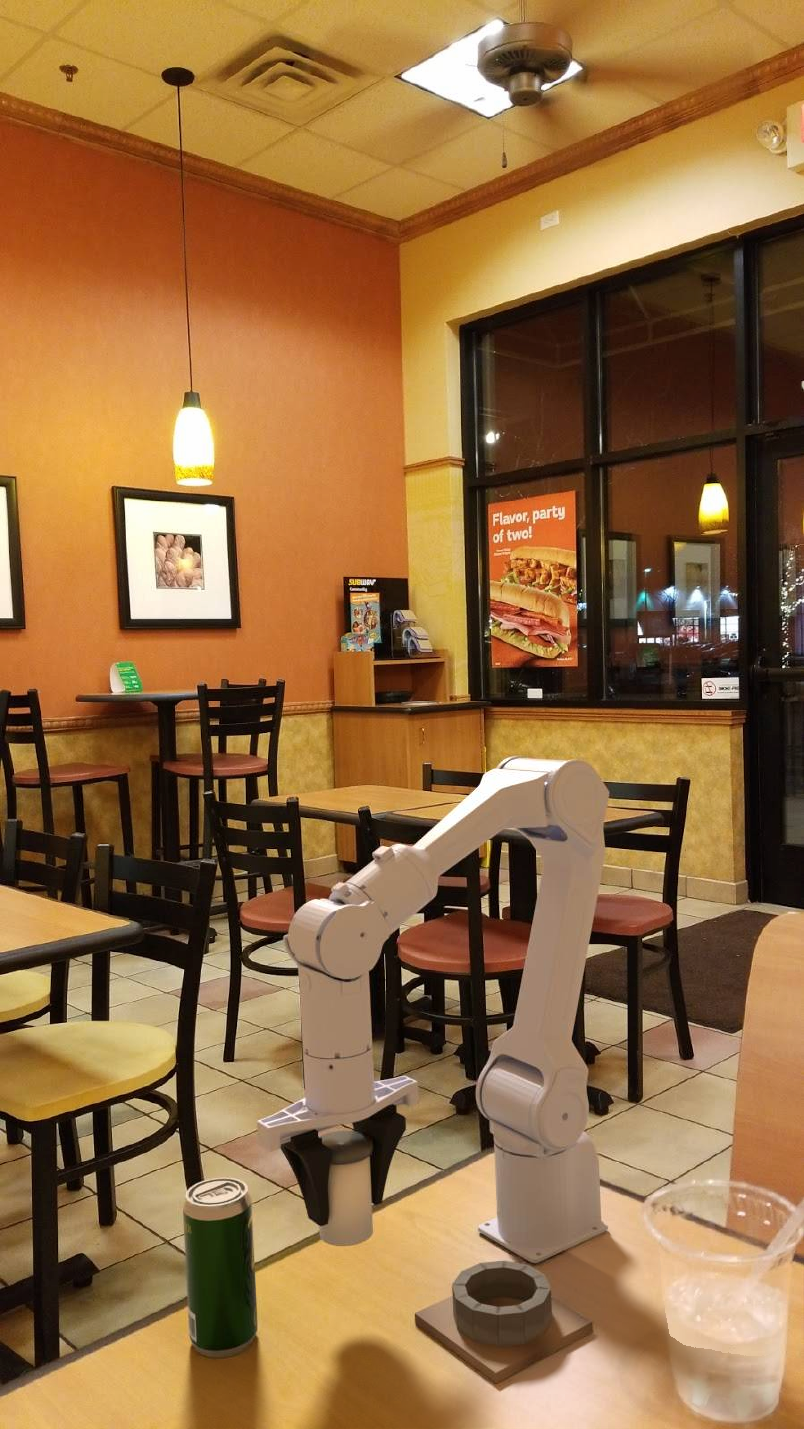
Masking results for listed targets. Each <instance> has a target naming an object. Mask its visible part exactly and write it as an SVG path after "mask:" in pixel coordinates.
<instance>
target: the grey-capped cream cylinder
mask: <svg viewBox="0 0 804 1429" xmlns="http://www.w3.org/2000/svg"><path fill="white" fill-rule="evenodd" d="M318 1137H319V1138H322V1144H324V1145H325V1146H327V1147H329V1148H331V1149H332V1150H333V1154H332V1159H331V1164H330V1170H329V1180H328V1197H329V1220H328V1224H326V1225H324V1226H319V1225H318V1226H319V1227H318V1228H319V1238H320V1239H321V1241H323V1242H324V1243H326V1244H328V1245H331V1246H335V1247H350V1246H351V1247H352V1246H356V1245H360V1244H362V1243H364V1242H366V1241H368V1240H369V1239H370V1238H371V1237H372V1235H373V1234H374V1224H373V1223H374V1222H373V1221H374V1220H373V1203H372V1197H371V1174H370V1155H371V1154H372V1152H373V1140H372V1138H371V1137H370V1136H369V1135H367V1134H365V1133H362V1132H358V1131H354V1130H336V1131H331V1132H327V1133H323V1134H322V1135H320V1136H318Z"/></svg>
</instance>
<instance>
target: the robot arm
mask: <svg viewBox="0 0 804 1429" xmlns="http://www.w3.org/2000/svg"><path fill="white" fill-rule="evenodd" d="M609 797H610V791H609V789H608V788H607V786H606V785H605V783H604V781H603V780H602V778H601V776H600V774H599V773H598V772H597V770H596V768H595V767H593V765H592V764H590V763H589V762H587V761H585V760H582V759H574V758H573V759H569V760H567V759H566V760H562V759H561V760H560V759H548V758H547V759H546V758H545V759H544V758H531V757H530V758H528V757H526V756H525V757H524V756H518V755H514V756H509V757H507V758H505V759H504V760H502V761H501V762H499V764H497V766H496V768H493V769H491V770H489V771H487V772H484V774H483V775H482V778H481V780H480V783H479V785H478V786H477V787H476V788H475V789H474V790H473V791H472V792H471V793H470V794H469V795H467V797H465V798H464V799H463V800H462V801H461V802H460V803H458V805H457V806H456V807H454V808H453V809H452V810H451V811H450V812H449V813H448V814H446V815H445V816H444V818H442V819H441V820H440V821H439V822H438V823H437V824H435V826H434V827H432V828H431V829H430V830H429V831H428V832H427V833H426V834H425V835H423V837H421V839H419V840H418V841H417V842H416V843H414V844H413V845H412V846H410V845H407V844H402V843H395V844H393V845H391V846H383V845H381V846H379V847H378V848H377V849H376V850H375V851H373V852H372V858H373V860H372V861H371V862H369V863H368V864H367V865H366V866H364V867H363V868H362V869H361V870H359V871H358V872H357V873H356V874H354V875H353V876H352V877H351V878H349V879H348V880H347V881H345V882H338V883H336V884H335V885H333V887H331V889H330V890H331V893H330V895H329V897H328V898H320V899H317V898H316V899H312V900H310V901H307V902H306V903H304V904H302V906H300V907H299V908H298V910H297V911H296V912H294V915H293V917H292V920H291V921H290V924H289V927H288V933H287V934H285V935H284V936H283V937H282V938H283V945H284V948H285V951H286V953H287V955H288V956H289V957H290V959H292V961H293V962H294V963H295V964H296V967H297V970H298V972H297V973H298V982H299V1000H300V1001H299V1002H300V1018H301V1038H302V1040H301V1041H302V1059H303V1061H302V1062H303V1075H304V1076H303V1077H304V1078H303V1080H304V1096H305V1097H304V1098H301V1099H300V1100H298V1101H296V1102H294V1103H292V1104H291V1105H288V1106H287V1107H285V1108H283V1109H281V1110H279V1111H277V1112H276V1113H273V1114H271V1115H269V1116H266V1117H265V1118H262V1119H259V1120H257V1121H256V1132H257V1145H258V1146H260V1147H262V1148H263V1149H265V1150H266V1151H268V1152H270V1153H271V1152H275V1151H277V1150H281V1152H282V1154H283V1156H284V1157H285V1158H286V1160H287V1162H288V1164H289V1167H290V1168H291V1171H292V1172H293V1174H294V1176H295V1179H296V1182H297V1185H298V1186H299V1189H300V1192H301V1195H302V1199H303V1202H304V1206H305V1209H306V1213H307V1217H308V1219H309V1220H310V1221H312V1222H313V1223H314V1224H317V1226H324V1225H326V1224H328V1220H329V1197H328V1180H329V1170H330V1164H331V1159H332V1154H333V1150H332V1149H331V1148H329V1147H327V1146H325V1145H324V1144H322V1138H319V1137H320V1136H319V1133H320V1132H322V1131H326V1130H330V1129H333V1128H336V1127H339V1126H343V1125H346V1124H347V1125H348V1124H351V1125H352V1128H353V1131H358V1132H362V1133H365V1134H367V1135H369V1136H370V1137H371V1138H372V1140H373V1152H372V1154H371V1155H370V1174H371V1197H372V1205H374V1206H378V1205H381V1204H382V1203H383V1200H384V1194H385V1189H386V1188H385V1187H386V1183H387V1178H388V1176H389V1171H390V1166H391V1164H392V1163H391V1162H392V1160H393V1157H394V1154H395V1152H396V1149H397V1147H398V1145H399V1143H400V1140H401V1139H402V1137H403V1136H404V1134H405V1131H406V1130H407V1119H406V1117H405V1115H403V1114H401V1113H399V1112H397V1111H398V1110H397V1109H398V1108H397V1107H400V1106H403V1105H405V1106H408V1107H411V1106H414V1105H418V1104H419V1101H420V1100H419V1099H420V1098H419V1082H418V1080H416V1079H413V1078H412V1077H408V1076H407V1075H401V1076H397V1077H394V1078H389V1079H384V1080H377V1081H375V1074H374V1070H375V1068H374V1053H373V1050H374V1048H373V1038H372V1037H373V1033H372V1015H371V1014H372V1013H371V990H370V974H369V973H370V971H371V970H373V969H374V967H375V966H376V964H377V963H378V961H379V959H380V956H381V953H382V949H383V945H384V944H385V942H386V941H387V940H388V939H389V938H390V936H391V935H392V934H393V933H394V932H395V931H396V930H398V929H399V928H400V927H401V926H402V925H404V924H405V923H406V922H408V920H410V919H411V918H412V917H413V916H414V915H415V914H417V913H418V912H419V911H420V910H421V909H423V908H424V907H426V905H428V903H430V902H431V901H433V899H434V898H435V897H436V896H437V893H438V887H439V886H438V885H439V877H440V876H441V875H443V874H444V873H445V872H447V871H448V870H450V869H451V868H453V866H455V865H457V864H458V863H459V862H460V861H462V860H463V859H465V858H466V857H467V856H469V855H470V854H471V853H473V852H474V851H475V850H477V849H479V847H481V846H482V845H484V844H485V843H487V842H488V841H490V840H491V839H492V838H494V837H495V836H496V835H498V834H499V833H501V832H502V831H503V830H505V829H515V830H516V831H518V832H519V833H520V834H521V835H522V836H524V837H525V838H526V839H527V840H529V842H530V843H531V844H532V846H533V848H534V849H535V850H536V852H537V854H538V855H539V856H540V858H541V859H542V862H543V865H542V871H541V877H540V881H539V887H538V891H537V898H536V901H535V902H536V903H535V909H534V914H533V919H532V925H531V930H530V935H529V940H528V946H527V951H526V956H525V961H524V966H523V971H522V977H521V983H520V988H519V994H518V998H517V1004H516V1009H515V1015H514V1019H513V1025H512V1027H511V1028H509V1029H508V1030H507V1031H506V1032H504V1033H503V1034H501V1035H500V1036H498V1037H497V1038H496V1039H494V1041H493V1042H492V1046H491V1051H490V1055H489V1058H488V1060H487V1062H486V1064H485V1065H484V1067H483V1069H482V1071H480V1074H479V1075H478V1076H479V1077H478V1079H477V1082H476V1085H475V1086H476V1087H475V1101H476V1105H477V1107H478V1108H477V1109H478V1110H479V1112H480V1113H481V1115H483V1116H484V1118H486V1119H487V1120H489V1132H490V1133H491V1134H493V1148H494V1171H495V1172H494V1173H495V1196H496V1197H495V1198H496V1199H495V1200H496V1217H494V1218H492V1219H490V1220H487V1221H485V1222H483V1223H480V1224H479V1225H477V1232H479V1233H481V1234H482V1235H484V1236H486V1237H487V1238H489V1239H491V1240H492V1241H494V1242H496V1243H497V1244H499V1245H501V1246H503V1247H504V1248H506V1249H508V1251H511V1252H513V1253H514V1254H516V1255H518V1256H519V1257H521V1258H523V1259H524V1260H527V1262H530V1263H532V1264H538V1263H540V1262H542V1261H544V1260H547V1259H549V1258H551V1257H553V1256H555V1255H557V1254H559V1253H562V1252H563V1251H566V1250H568V1249H570V1248H572V1247H574V1246H577V1245H579V1244H581V1243H583V1242H585V1241H587V1240H590V1239H592V1238H594V1237H596V1236H598V1235H600V1234H602V1233H604V1232H606V1231H608V1230H609V1225H608V1224H607V1223H606V1222H605V1221H602V1208H601V1206H602V1203H601V1184H600V1183H601V1179H600V1176H601V1175H600V1160H599V1156H598V1152H597V1149H596V1147H595V1145H594V1143H593V1141H592V1139H591V1138H590V1135H588V1134H587V1133H586V1132H585V1130H586V1126H587V1124H588V1120H589V1114H590V1113H589V1111H590V1110H589V1109H590V1105H589V1104H590V1102H589V1099H588V1093H587V1092H588V1090H587V1083H588V1078H589V1077H588V1076H589V1072H590V1071H589V1068H588V1066H587V1064H586V1063H585V1061H584V1059H583V1057H582V1056H581V1055H580V1053H579V1051H578V1048H576V1046H575V1044H574V1043H573V1040H572V1037H573V1033H574V1026H575V1022H576V1015H577V1011H578V1007H579V1006H578V1004H579V1000H580V994H581V988H582V982H583V978H584V977H583V976H584V972H585V966H586V961H587V955H588V950H589V945H590V939H591V934H592V928H593V924H594V918H595V912H596V907H597V902H598V901H597V900H598V896H599V891H600V885H601V880H602V874H603V870H604V863H605V858H606V857H605V855H606V844H605V833H604V824H605V819H606V814H607V808H608V804H609V800H610V798H609Z"/></svg>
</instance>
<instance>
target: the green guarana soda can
mask: <svg viewBox="0 0 804 1429" xmlns="http://www.w3.org/2000/svg"><path fill="white" fill-rule="evenodd" d="M184 1199H185V1202H184V1203H183V1208H182V1214H183V1215H182V1216H183V1236H184V1237H183V1239H184V1252H185V1253H184V1254H185V1255H184V1256H185V1257H184V1258H185V1274H186V1275H185V1276H186V1293H187V1294H186V1295H187V1309H188V1310H187V1311H188V1312H187V1313H188V1315H187V1316H188V1329H189V1330H188V1331H189V1335H188V1336H189V1339H190V1341H191V1343H192V1345H193V1347H194V1348H195V1351H196V1352H197V1353H199V1354H200V1355H202V1356H204V1357H206V1358H214V1359H215V1358H216V1359H222V1358H228V1357H232V1356H236V1355H238V1354H240V1353H242V1352H244V1351H246V1350H247V1349H248V1348H249V1347H250V1346H251V1345H252V1343H253V1342H254V1340H255V1338H256V1335H257V1332H258V1325H259V1324H258V1306H257V1304H258V1302H257V1288H256V1286H257V1285H256V1267H255V1265H256V1264H255V1246H254V1227H253V1207H252V1197H251V1196H250V1194H249V1185H248V1184H247V1183H246V1182H244V1181H243V1180H242V1179H238V1178H234V1177H213V1178H209V1179H205V1180H202V1181H199V1182H197V1183H195V1184H193V1185H192V1186H191V1187H189V1188H188V1189H187V1190H186V1192H185V1198H184Z"/></svg>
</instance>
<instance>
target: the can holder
mask: <svg viewBox="0 0 804 1429" xmlns="http://www.w3.org/2000/svg"><path fill="white" fill-rule="evenodd" d="M451 1291H452V1295H451V1296H449V1297H447V1298H444V1299H442V1300H439V1301H438V1302H435V1303H434V1304H431V1305H429V1306H427V1307H425V1308H423V1309H420V1310H418V1311H416V1312H415V1313H414V1323H415V1324H417V1326H419V1327H420V1328H421V1329H422V1330H424V1331H425V1332H427V1333H428V1334H429V1335H431V1336H432V1337H434V1339H436V1340H438V1341H439V1342H440V1343H441V1344H443V1345H444V1346H445V1347H447V1348H448V1349H449V1350H451V1351H452V1352H454V1353H455V1354H456V1355H457V1356H458V1357H460V1358H462V1359H463V1360H464V1361H465V1362H466V1363H468V1364H469V1365H471V1366H472V1367H473V1368H475V1369H476V1370H477V1371H479V1373H481V1374H482V1375H484V1376H485V1377H487V1378H488V1379H489V1380H491V1381H492V1382H493V1383H495V1384H498V1383H499V1382H501V1381H504V1380H506V1379H507V1378H509V1377H511V1376H513V1375H515V1374H516V1373H517V1374H518V1373H519V1372H520V1371H522V1370H524V1369H526V1368H527V1367H529V1366H532V1365H534V1364H535V1363H537V1362H539V1361H541V1360H544V1359H545V1358H546V1357H548V1356H551V1355H553V1354H554V1353H557V1351H559V1350H561V1349H563V1348H565V1347H567V1346H569V1345H571V1344H572V1343H575V1342H576V1341H578V1340H580V1339H582V1338H584V1337H585V1336H588V1335H589V1334H591V1333H593V1332H594V1328H593V1327H594V1324H593V1322H594V1321H592V1320H590V1319H589V1318H587V1317H586V1316H585V1315H582V1314H581V1313H579V1312H577V1310H574V1309H573V1308H571V1307H569V1306H567V1305H566V1304H565V1303H563V1302H561V1301H560V1300H559V1299H556V1298H555V1297H554V1296H552V1288H551V1285H550V1283H549V1281H548V1278H547V1277H546V1275H545V1274H544V1273H543V1272H541V1271H539V1270H537V1269H536V1268H534V1267H533V1266H531V1265H529V1264H525V1263H519V1262H513V1261H509V1260H498V1261H485V1262H479V1263H477V1264H474V1265H472V1266H470V1267H468V1268H466V1269H464V1270H462V1271H460V1273H459V1274H458V1276H457V1277H456V1278H455V1279H454V1281H453V1282H452V1284H451Z"/></svg>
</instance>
